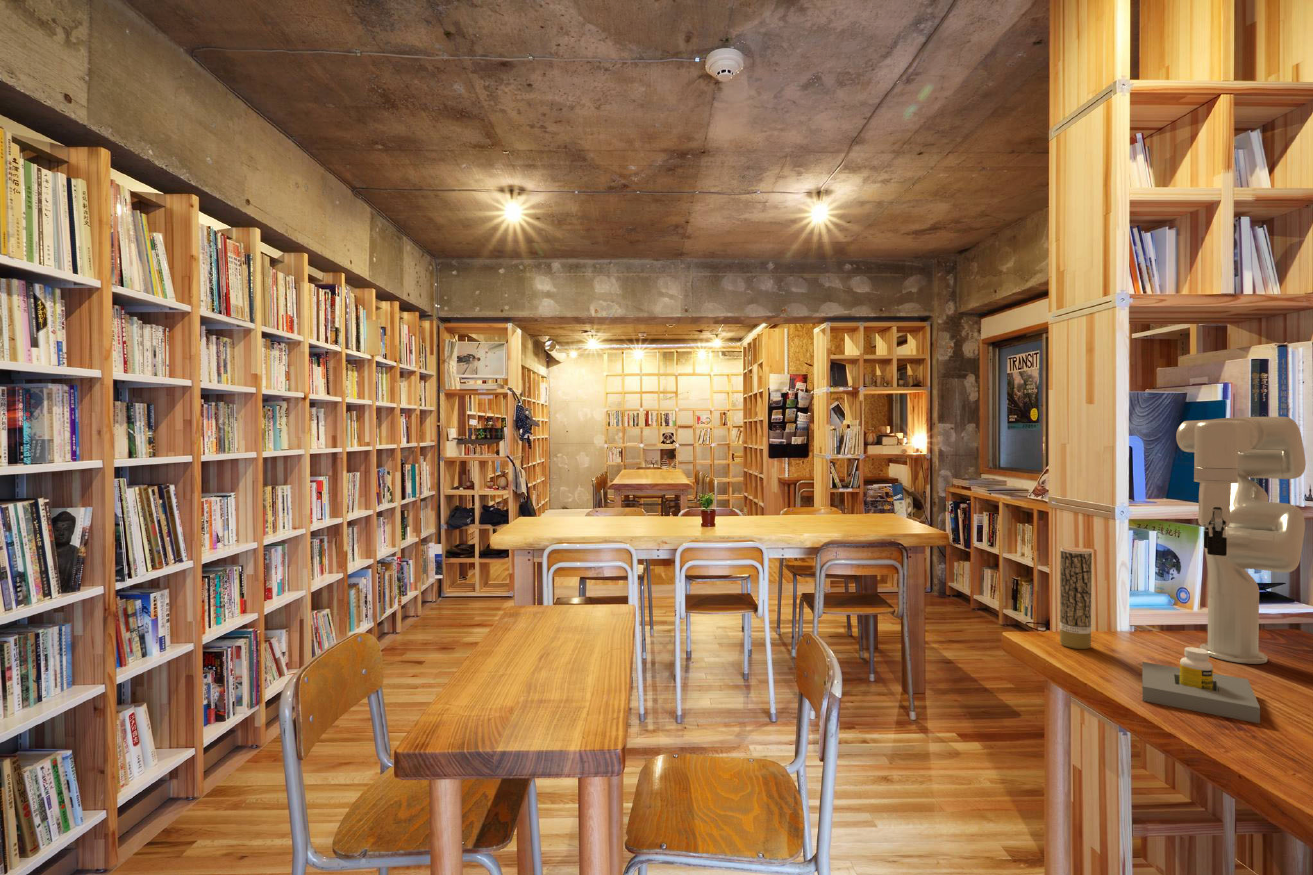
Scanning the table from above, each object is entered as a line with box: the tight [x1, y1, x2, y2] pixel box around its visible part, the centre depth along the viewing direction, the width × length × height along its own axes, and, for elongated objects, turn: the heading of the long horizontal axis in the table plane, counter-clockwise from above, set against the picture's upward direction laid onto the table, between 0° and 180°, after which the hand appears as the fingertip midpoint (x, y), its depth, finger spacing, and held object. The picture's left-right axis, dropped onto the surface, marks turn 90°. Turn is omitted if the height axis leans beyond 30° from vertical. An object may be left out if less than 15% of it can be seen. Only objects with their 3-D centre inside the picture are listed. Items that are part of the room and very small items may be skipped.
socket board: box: [1141, 661, 1261, 724], centre depth 139 cm, size 18×18×3 cm
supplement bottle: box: [1179, 646, 1214, 691], centre depth 139 cm, size 5×5×10 cm
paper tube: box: [1059, 546, 1093, 650], centre depth 172 cm, size 7×7×25 cm
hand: (1214, 551), depth 150 cm, fingers open, 9 cm apart
